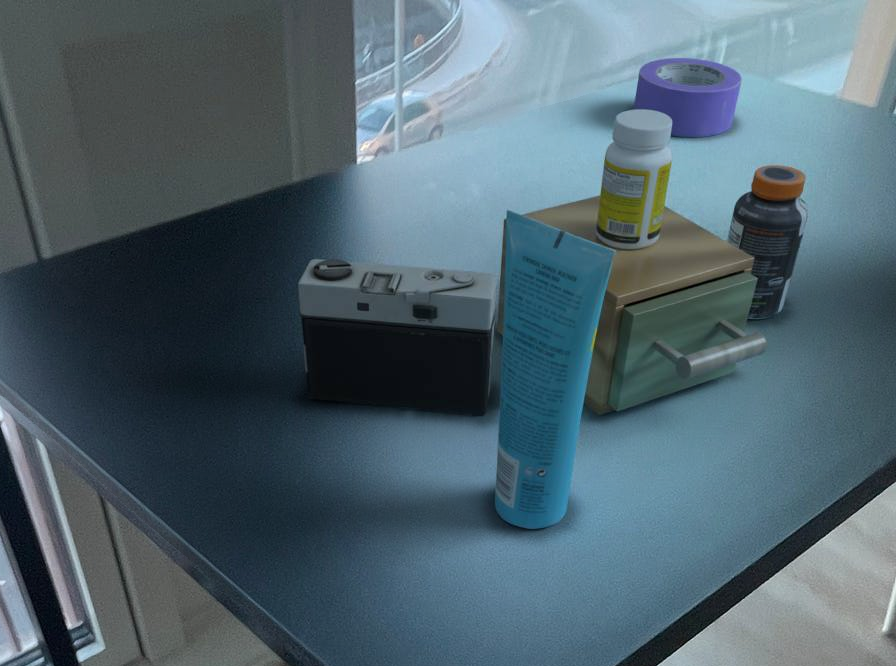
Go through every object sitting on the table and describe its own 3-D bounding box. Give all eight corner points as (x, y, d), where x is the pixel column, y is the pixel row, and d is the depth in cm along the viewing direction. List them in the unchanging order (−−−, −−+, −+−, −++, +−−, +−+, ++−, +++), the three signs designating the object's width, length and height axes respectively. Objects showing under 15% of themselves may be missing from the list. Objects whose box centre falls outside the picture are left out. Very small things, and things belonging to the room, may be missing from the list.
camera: (498, 363, 82) (506, 243, 75) (485, 419, 76) (492, 295, 69) (330, 348, 83) (322, 228, 76) (305, 402, 78) (295, 279, 71)
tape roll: (753, 126, 119) (763, 79, 115) (676, 144, 115) (685, 97, 111) (686, 96, 126) (695, 51, 122) (612, 113, 122) (618, 67, 118)
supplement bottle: (641, 220, 78) (659, 103, 72) (669, 246, 75) (691, 126, 69) (584, 228, 77) (598, 111, 71) (611, 254, 74) (628, 134, 68)
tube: (594, 511, 69) (639, 233, 55) (556, 547, 66) (593, 265, 52) (504, 470, 72) (525, 198, 58) (464, 504, 69) (476, 227, 55)
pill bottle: (795, 305, 89) (833, 172, 81) (758, 328, 86) (794, 194, 78) (737, 282, 92) (768, 152, 84) (699, 304, 89) (728, 172, 81)
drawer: (772, 398, 77) (800, 303, 71) (653, 441, 73) (673, 343, 67) (628, 300, 87) (643, 210, 82) (518, 332, 84) (525, 239, 78)
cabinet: (726, 373, 81) (755, 257, 74) (598, 415, 77) (617, 297, 70) (615, 296, 90) (632, 186, 83) (496, 331, 85) (503, 218, 79)
